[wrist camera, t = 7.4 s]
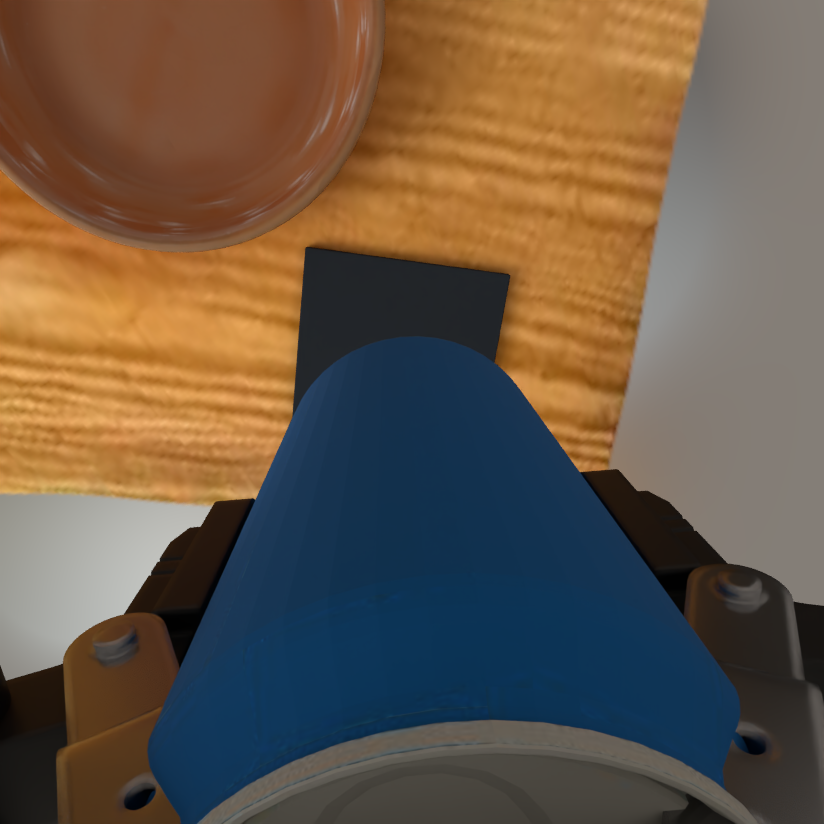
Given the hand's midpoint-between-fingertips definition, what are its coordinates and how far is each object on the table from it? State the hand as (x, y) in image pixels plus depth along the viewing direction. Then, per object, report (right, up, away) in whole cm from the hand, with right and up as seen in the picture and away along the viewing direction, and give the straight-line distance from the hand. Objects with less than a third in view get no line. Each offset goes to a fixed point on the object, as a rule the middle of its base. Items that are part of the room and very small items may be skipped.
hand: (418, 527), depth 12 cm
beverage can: (0, +1, +4) cm, 4 cm away
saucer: (-9, +17, +11) cm, 22 cm away
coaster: (-1, +5, +16) cm, 16 cm away
